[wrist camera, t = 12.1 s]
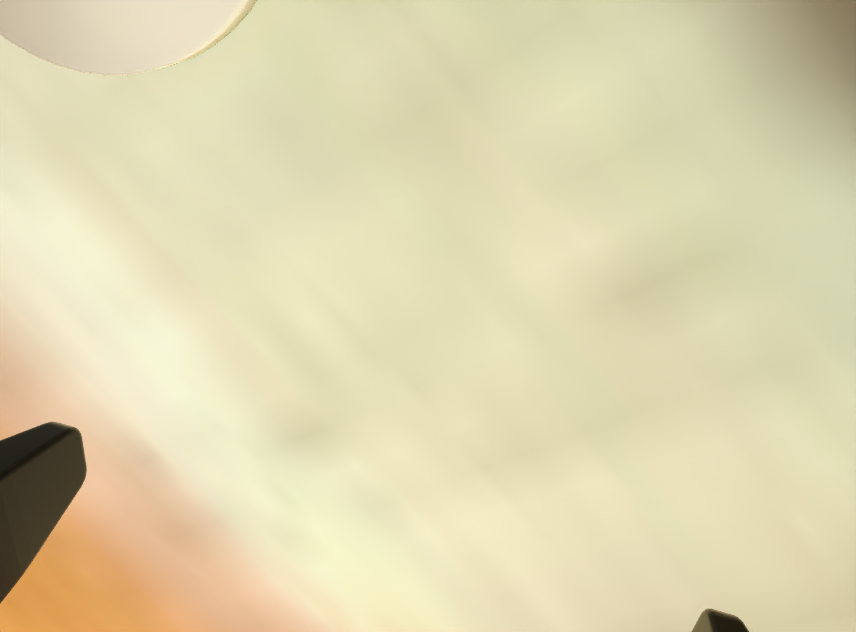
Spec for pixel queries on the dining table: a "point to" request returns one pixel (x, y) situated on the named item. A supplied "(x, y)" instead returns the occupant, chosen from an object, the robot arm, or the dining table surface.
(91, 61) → the saucer
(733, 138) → the dining table surface
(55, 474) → the robot arm
